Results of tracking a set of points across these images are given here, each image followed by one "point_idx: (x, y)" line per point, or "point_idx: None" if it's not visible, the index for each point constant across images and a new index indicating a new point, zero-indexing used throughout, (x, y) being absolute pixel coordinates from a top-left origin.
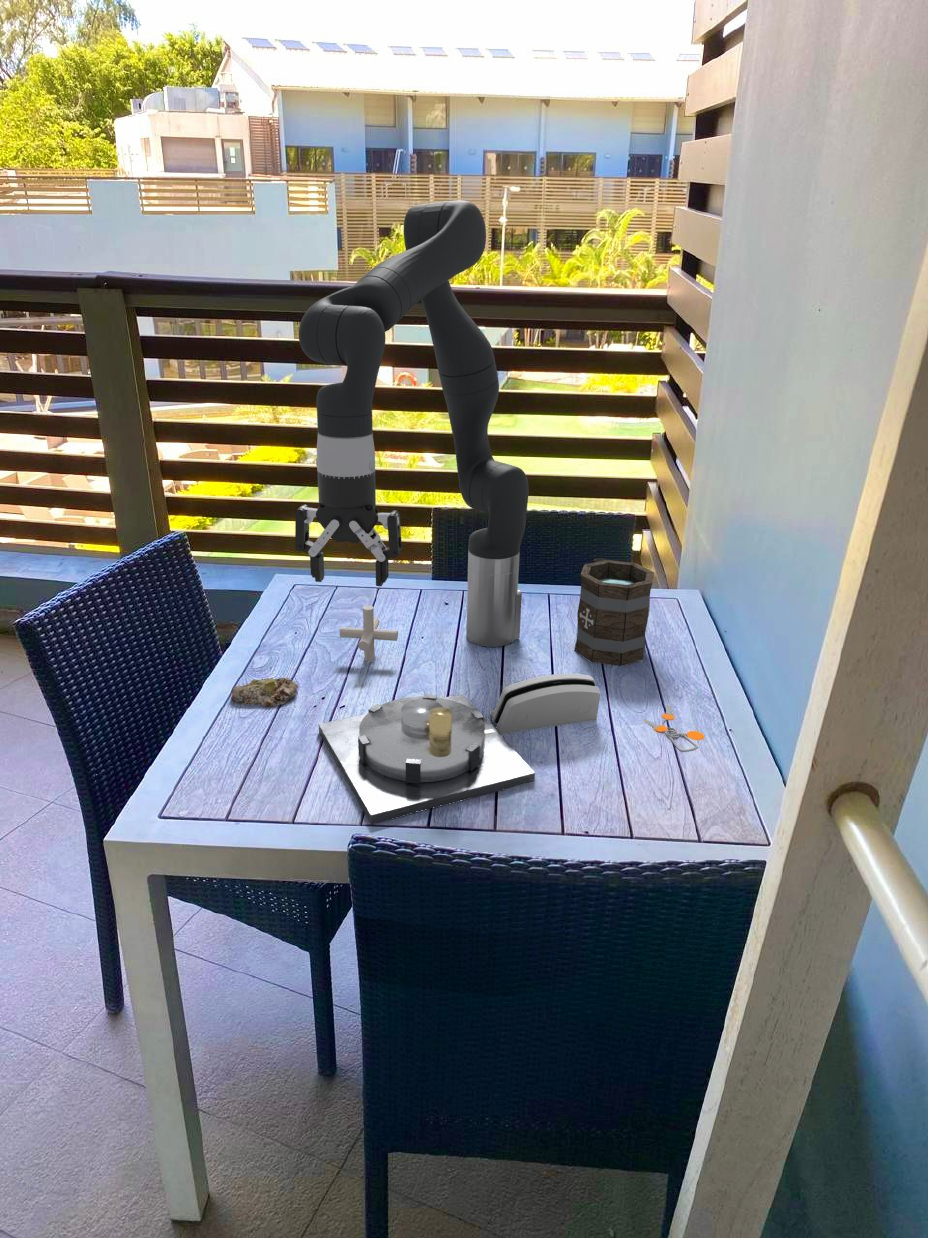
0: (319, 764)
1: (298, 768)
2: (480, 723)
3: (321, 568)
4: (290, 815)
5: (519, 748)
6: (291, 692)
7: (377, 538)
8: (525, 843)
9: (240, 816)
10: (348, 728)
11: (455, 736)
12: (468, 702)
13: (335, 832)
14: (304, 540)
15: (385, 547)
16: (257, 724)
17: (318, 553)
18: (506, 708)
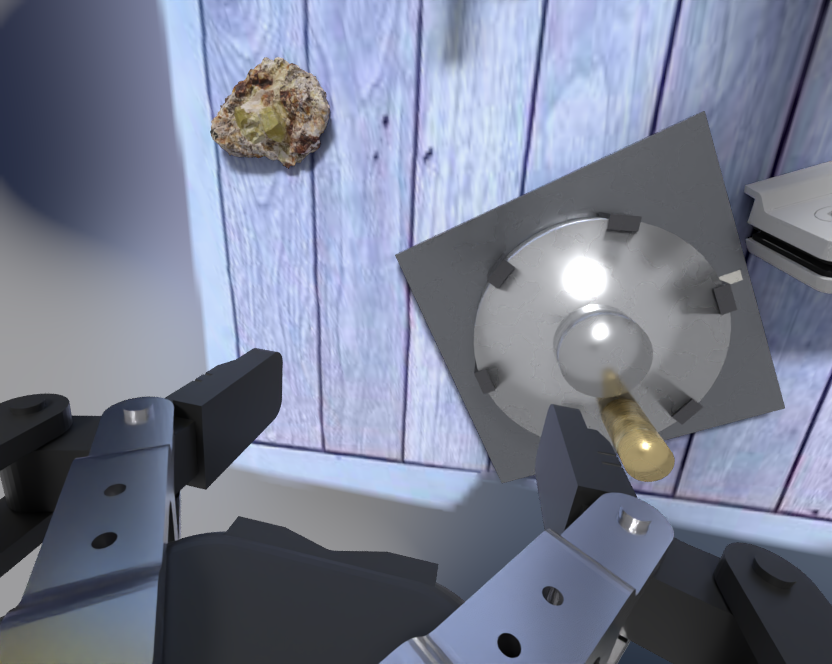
0: (415, 343)
1: (386, 352)
2: (723, 330)
3: (250, 415)
4: (397, 449)
5: (778, 301)
6: (321, 130)
7: (604, 655)
8: (711, 522)
9: (338, 446)
10: (450, 269)
11: (658, 373)
12: (710, 155)
13: (457, 482)
14: (26, 544)
15: (655, 572)
16: (292, 228)
17: (183, 483)
18: (805, 276)
